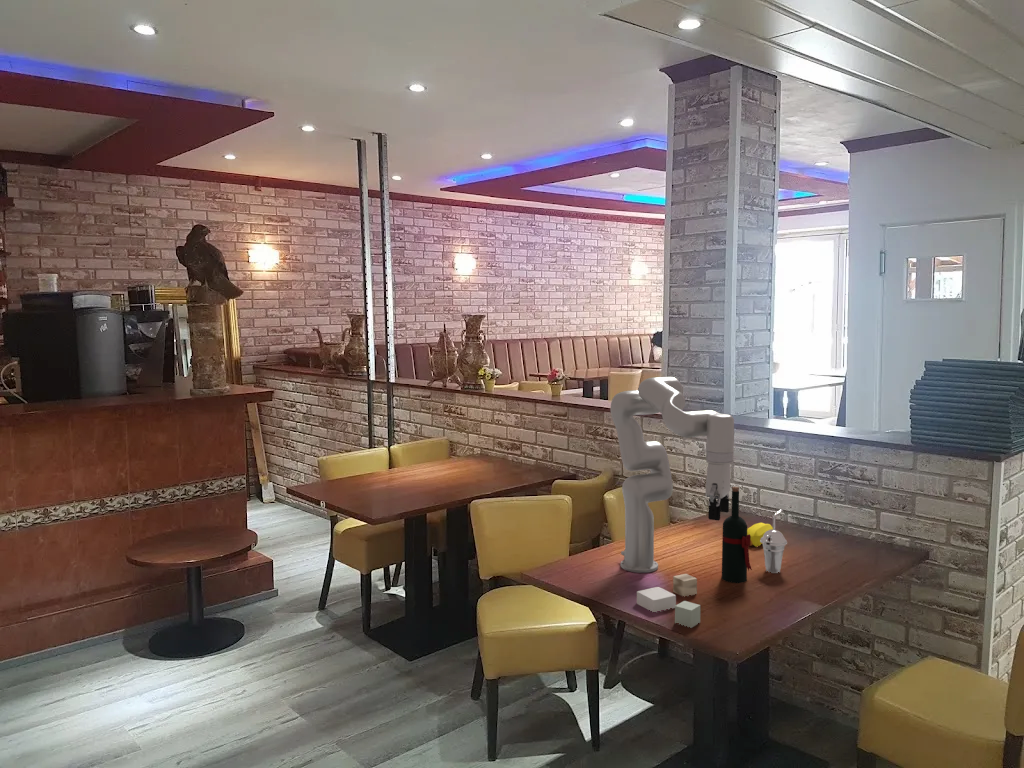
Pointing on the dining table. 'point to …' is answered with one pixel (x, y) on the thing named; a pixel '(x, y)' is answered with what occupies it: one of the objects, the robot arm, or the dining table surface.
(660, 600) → the base block
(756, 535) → the yellow rounded lump
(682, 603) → the sage cube
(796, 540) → the dining table surface
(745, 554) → the wine bottle
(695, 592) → the maple cube
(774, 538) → the cup with straw
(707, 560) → the dining table surface
